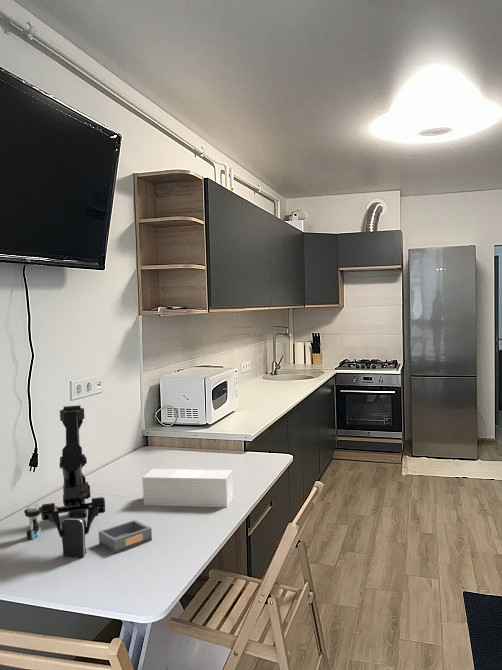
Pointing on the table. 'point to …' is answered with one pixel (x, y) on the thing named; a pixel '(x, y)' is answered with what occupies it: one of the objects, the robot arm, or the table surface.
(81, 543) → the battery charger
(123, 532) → the tray
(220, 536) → the table surface
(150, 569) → the table surface
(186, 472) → the stack of papers
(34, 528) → the push button
